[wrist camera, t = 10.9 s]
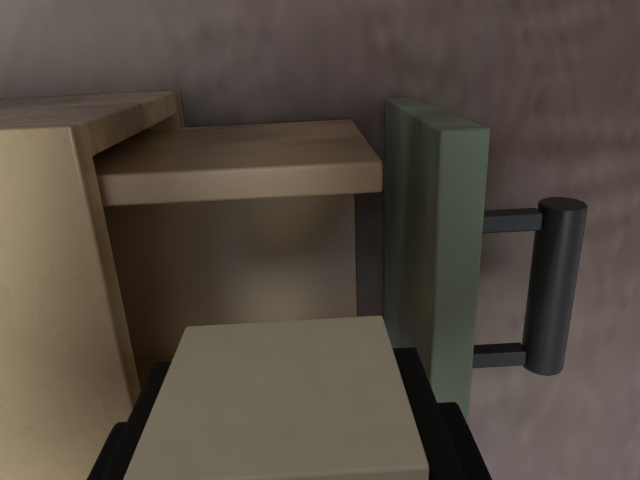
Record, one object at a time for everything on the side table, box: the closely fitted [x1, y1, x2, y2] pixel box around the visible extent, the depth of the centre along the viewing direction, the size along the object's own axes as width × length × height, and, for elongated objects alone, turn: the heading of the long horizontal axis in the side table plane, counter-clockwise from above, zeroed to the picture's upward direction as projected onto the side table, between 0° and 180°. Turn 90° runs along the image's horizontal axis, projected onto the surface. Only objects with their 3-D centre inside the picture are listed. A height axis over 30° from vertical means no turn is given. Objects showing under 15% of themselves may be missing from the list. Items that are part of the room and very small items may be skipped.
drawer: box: [92, 97, 588, 425], centre depth 18 cm, size 18×12×8 cm
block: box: [123, 316, 429, 480], centre depth 10 cm, size 4×4×4 cm
